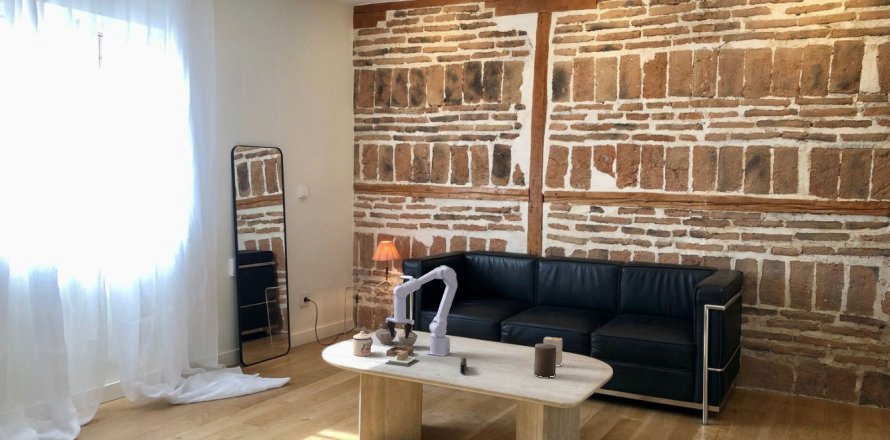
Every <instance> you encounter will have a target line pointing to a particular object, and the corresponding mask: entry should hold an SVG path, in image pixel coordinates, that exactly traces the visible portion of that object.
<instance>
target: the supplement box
mask: <svg viewBox="0 0 890 440" xmlns="http://www.w3.org/2000/svg"><path fill="white" fill-rule="evenodd" d="M545 343H546V344H553V345H555V346H556V365H560V364H561V363H562V364H563V338H562V337H552V336H546V337H544V338H543V344H545Z"/></svg>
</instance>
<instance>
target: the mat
mask: <svg viewBox="0 0 890 440" xmlns="http://www.w3.org/2000/svg"><path fill="white" fill-rule="evenodd" d="M419 360H420V359H417V358H416V359H415V360H413V361H411V362H410V363H408V364H400V363H392V362H391V361H387V362H385V365H391V366H392V365H393V366H397V367H398V366H399V367H407V368H408V367H410V366H412V365H414V364H415V363H418V362H419Z"/></svg>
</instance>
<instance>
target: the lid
mask: <svg viewBox="0 0 890 440" xmlns="http://www.w3.org/2000/svg"><path fill="white" fill-rule="evenodd" d="M415 359H417V357H416V356H408V351H402V352H400V353H398V354H397V356H395V357H391V358H390V359H388V361H391V362H392V363H400V364H408V363H410V362H411V361H413V360H415ZM388 361H387V362H388Z"/></svg>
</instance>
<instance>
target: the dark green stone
mask: <svg viewBox="0 0 890 440" xmlns="http://www.w3.org/2000/svg"><path fill="white" fill-rule="evenodd" d="M459 364H460V365H459V372H460V374H463V376H466V372H467V369H468V366H467V365H468V362H467V358H466V357H461V359H460V362H459Z"/></svg>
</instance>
